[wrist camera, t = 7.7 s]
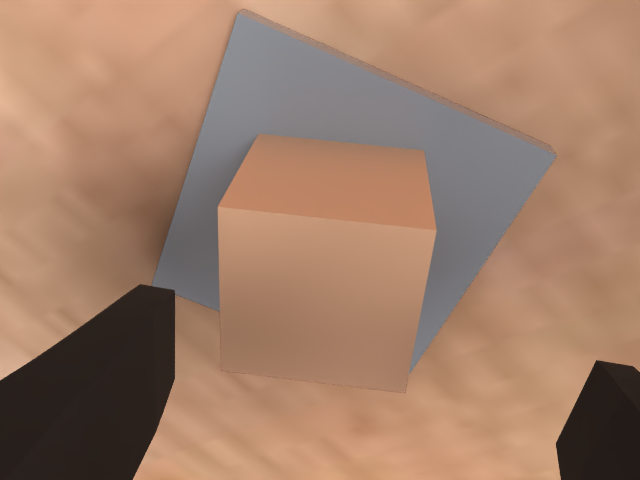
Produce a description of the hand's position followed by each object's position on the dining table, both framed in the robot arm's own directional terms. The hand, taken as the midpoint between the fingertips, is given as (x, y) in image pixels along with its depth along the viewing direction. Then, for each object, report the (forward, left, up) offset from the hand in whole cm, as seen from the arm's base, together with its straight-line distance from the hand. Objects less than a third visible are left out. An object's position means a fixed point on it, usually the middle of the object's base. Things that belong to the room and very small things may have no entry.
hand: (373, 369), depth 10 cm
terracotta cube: (+1, +2, -9) cm, 9 cm away
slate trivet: (0, +2, -10) cm, 10 cm away
